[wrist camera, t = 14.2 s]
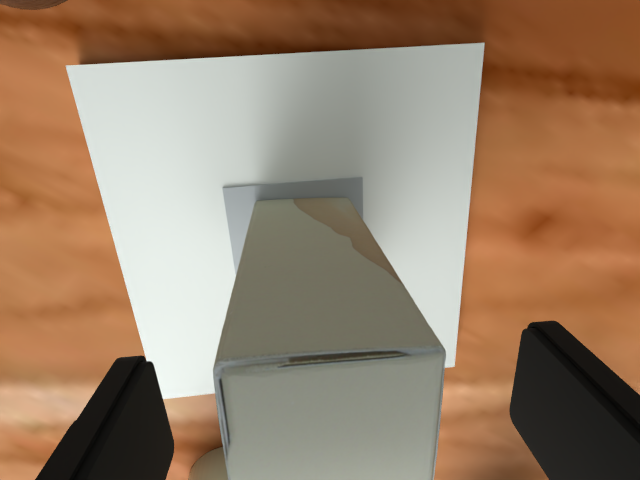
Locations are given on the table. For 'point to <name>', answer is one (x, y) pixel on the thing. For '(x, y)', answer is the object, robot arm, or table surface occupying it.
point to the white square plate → (277, 175)
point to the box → (324, 354)
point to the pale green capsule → (210, 466)
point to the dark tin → (31, 3)
